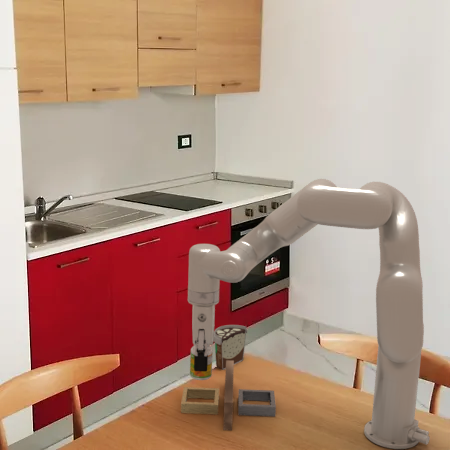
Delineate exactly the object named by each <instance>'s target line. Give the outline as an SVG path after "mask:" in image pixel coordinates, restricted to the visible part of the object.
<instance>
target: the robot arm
mask: <svg viewBox="0 0 450 450" xmlns="http://www.w3.org/2000/svg"><path fill="white" fill-rule="evenodd" d="M317 225H320V226H326V227H327V226H329V227H336V228H347V229H357V230H375V229H378V235H379V236H378V237H379V238H378V239H379V243H378V245H379V258H380V259H379V261H380V262H379V274H378V279H377V283H376V289H375V303H376V305H375V308H376V312H375V313H376V334H377V335H376V339H377V345H378V347H377V356H376V357H377V358H376V369H375V376H374V377H375V379H374V388H373V389H374V390H373V391H374V392H373V400H372V402H373V403H372V411H371V412H372V413H371V415H372V416H371V420H370V421H368V422H367V423H366V424H364V428H363V433H364V435H365V437H366V438H367V439H368V440H369V441H370V442H372V443H373V444H376V445H378V446H380V447H384V448H387V449H394V450H404V449H405V450H406V449H410V448H413V447H415V446H416V445H418V444H419V443H421V444H424V445H426V446H427V445H428V444H429V442H430V436H429V433H430V432H429V431H428V430H425V429H421V428H420V427H419V420H418V419H415V418H416V407H417V396H418V386H419V378H420V367H421V359H422V349H423V346H424V332H425V328H424V327H425V326H424V308H423V307H424V305H423V304H424V302H423V301H424V299H423V298H424V297H423V295H424V294H423V277H422V273H421V272H422V271H421V260H420V259H421V257H420V256H421V251H420V238H419V237H420V235H419V225H418V220H417V216H416V212H415V210H414V208H413V206H412V204H411V202H410V201H409V199H408V198H407V197H406V196H405V195H404V193H403V192H402V191H400V190H399V189H398V188H396V187H394V186H392V185H390V184H388V183H385V182H383V181H372V182H371V181H370V182H367V183H366V184H364V185H362V186H361V187H359V188H349V187H340V186H339V187H338V186H337V185H336V184H335V183H334V182H333V181H331V180H328V179H326V178H317V179H314V180H312V181H310V182H309V183H308V184H306V185H304V187H303V188H302V189H300V190H298V192H296V193H295V194H294V195H292V196H291V197H290V198H288V199H287V200H286V201H285V202H283V203H282V204H281V205H279V206H278V207H277V208H276V209H274V210H273V211H271V212H270V213H269V214H268V215H267V216H266V217H265V218H264V219H263V220H262V221H261V222H260V223H258V225H257V226H255V227H254V228H253V229H251V230H250V231H249V232H247V234H245V235H244V236H242V237H241V238H240V239H239V240H237V241H236V242H234V243H233V244H232V245H231V246H229V247H228V248H227V249H226V250H222V251H221V249H220V248H219V247H218V246H217V245H215V244H211V243H197V244H194V245H192V246H191V247H190V248H189V252H188V273H187V274H188V278H187V279H188V281H187V283H188V285H187V302H188V304H190V305H192V311H191V312H192V316H191V317H192V319H191V320H192V321H191V322H192V324H191V325H192V327H191V328H192V344H193V345H194V344H196V349H195V355H194V371H204V372H206V371H207V363H208V355H207V344H210V346H212V345H213V344H214V341H213V340H214V331H215V320H216V319H215V313H216V312H215V311H216V309H215V308H216V305H217V304H219V302H220V285H221V283H220V281H223V282H226V283H233V284H234V283H238V282H239V283H240V282H241V281H243V280H244V279H245V278H246V277H247V275H249V273H250V272H251V270H253V269H254V268H255V267H256V266H257V265H258V264H260V263H261V262H263V261H264V260H265V259H266V258H268V257H269V256H270V255H272V254H273V253H275V252H276V251H277V250H279V249H280V248H283V247H288V246H290V245H292V244H294V243H296V241H298V240H299V239H300V238H301V237H303V236H304V235H306V234H307V233H308V232H309V231H311V230H313V229H314V228H315V227H316V226H317ZM204 341H206V343H204ZM197 342H198V343H197ZM203 346H205V349H204V348H203Z"/></svg>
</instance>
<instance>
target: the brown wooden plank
mask: <svg viewBox="0 0 450 450" xmlns="http://www.w3.org/2000/svg"><path fill="white" fill-rule="evenodd" d="M234 366H235V365H234V361H230V360H226V369H225V379H224V398H223V399H224V403H223V405H224V406H223V426H222V427H223V431H233V414H234V413H233V411H234V370H235V369H234V368H235V367H234Z"/></svg>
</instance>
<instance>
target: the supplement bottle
mask: <svg viewBox="0 0 450 450" xmlns="http://www.w3.org/2000/svg"><path fill="white" fill-rule="evenodd" d="M197 343H198V342H197ZM204 343H206V341H204ZM203 348H204V349H205V346H203ZM195 349H196V344H194V343H193V346H192V347H191V348H190V360H189V361H190V362H189V363H190V364H189V366H190V367H189V376H190V378H191V379H193V380H197V381H207V380H210V378H212V376H213V375H212V374H213V373H212V372H213V371H212V370H213V348H212V347H211V345H210V344H207V355H208V363H207V371H206V372H204V371H194V355H195Z"/></svg>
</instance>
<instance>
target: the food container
mask: <svg viewBox="0 0 450 450" xmlns="http://www.w3.org/2000/svg"><path fill="white" fill-rule="evenodd" d="M247 334H248V327H247V326H244V325H239V324H226V325H221V326H219V327H217V328H214V340H213V343H214V350H215V354H214V355H215V366H216V368H218V369H219V370H220V371H224V370H226V360H230V361H234V366H235V365H236V364H239V363H240V362H242V361H244V357H245V348H246V337H247Z"/></svg>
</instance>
